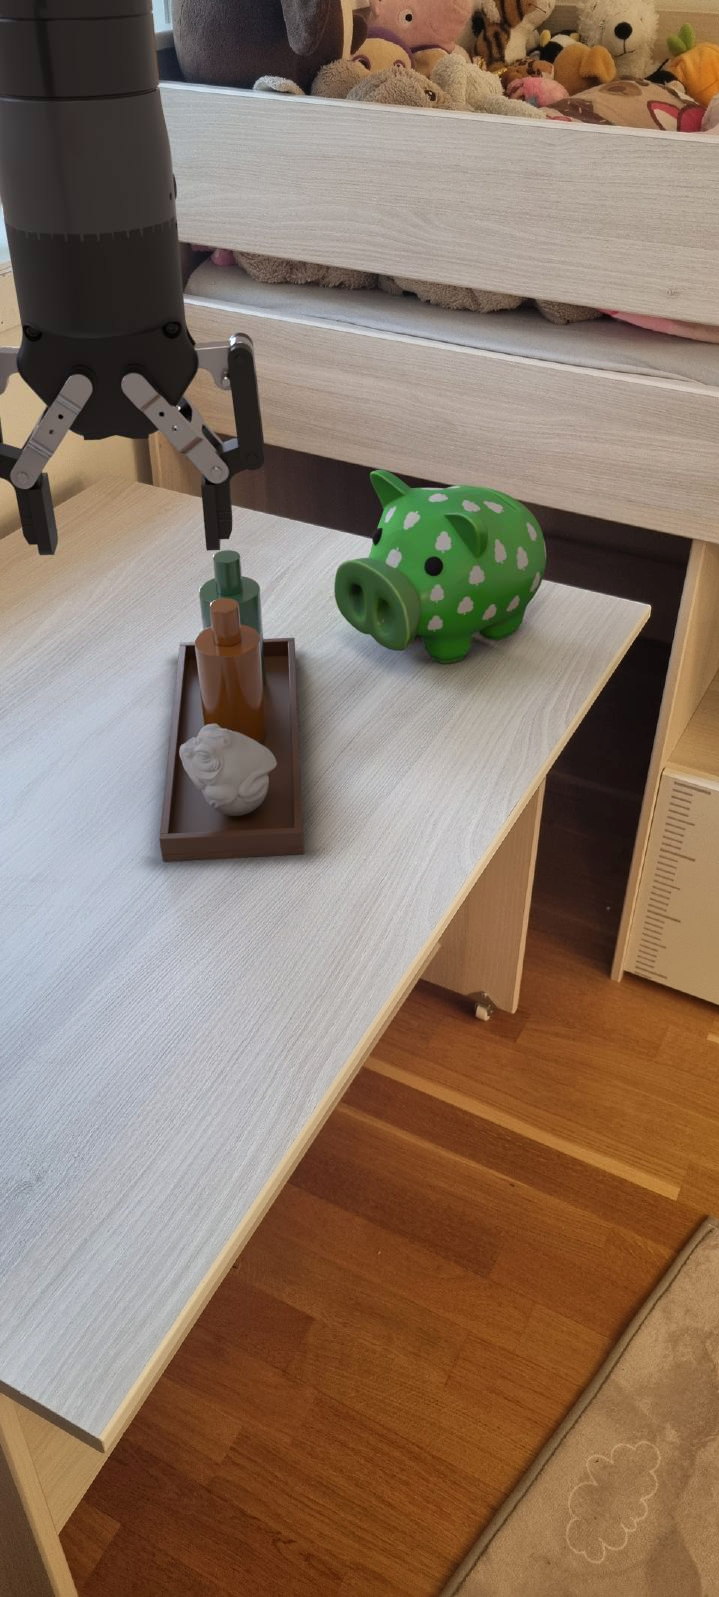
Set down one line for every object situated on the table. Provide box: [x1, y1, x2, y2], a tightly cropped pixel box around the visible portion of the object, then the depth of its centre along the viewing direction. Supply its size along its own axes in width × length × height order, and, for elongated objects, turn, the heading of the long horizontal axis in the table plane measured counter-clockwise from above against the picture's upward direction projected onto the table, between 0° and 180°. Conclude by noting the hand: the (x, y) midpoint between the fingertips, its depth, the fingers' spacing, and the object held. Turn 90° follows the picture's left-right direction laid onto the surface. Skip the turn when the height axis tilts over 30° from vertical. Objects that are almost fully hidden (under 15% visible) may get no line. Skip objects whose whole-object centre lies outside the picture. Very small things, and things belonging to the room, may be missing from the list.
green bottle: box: [198, 549, 266, 687], centre depth 100 cm, size 5×5×12 cm
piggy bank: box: [333, 469, 547, 664], centre depth 106 cm, size 14×18×15 cm
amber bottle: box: [194, 598, 267, 744], centre depth 94 cm, size 5×5×12 cm
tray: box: [158, 637, 305, 862], centre depth 96 cm, size 27×10×2 cm, turn 4°
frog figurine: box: [179, 724, 277, 816], centre depth 88 cm, size 6×7×7 cm
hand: (132, 546), depth 62 cm, fingers open, 8 cm apart
